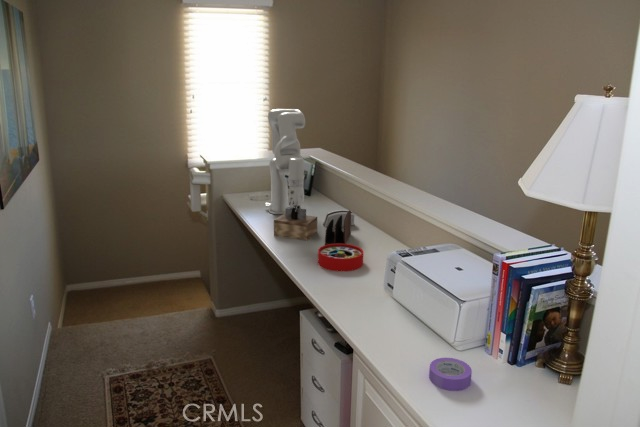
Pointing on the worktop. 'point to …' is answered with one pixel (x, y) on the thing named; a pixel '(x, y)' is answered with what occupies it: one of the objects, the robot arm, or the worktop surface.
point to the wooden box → (295, 230)
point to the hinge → (336, 215)
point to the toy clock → (340, 257)
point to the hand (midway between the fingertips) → (295, 217)
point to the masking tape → (450, 381)
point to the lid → (301, 221)
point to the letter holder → (339, 231)
